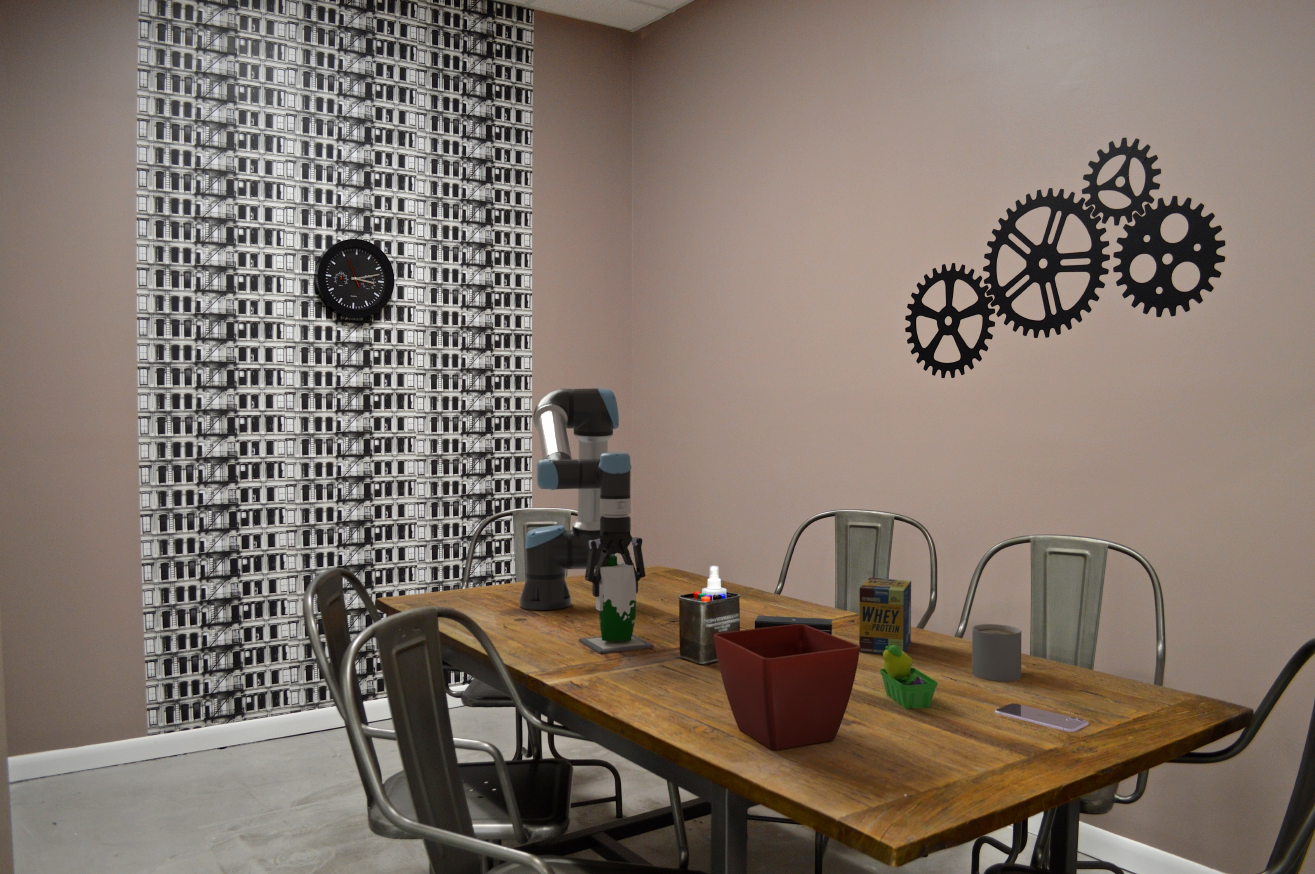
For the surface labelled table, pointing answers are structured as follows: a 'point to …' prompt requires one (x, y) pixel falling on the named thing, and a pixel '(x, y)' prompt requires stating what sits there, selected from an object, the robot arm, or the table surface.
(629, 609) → the soya milk
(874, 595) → the protein box
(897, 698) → the fruit basket
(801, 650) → the plant pot
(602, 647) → the mat
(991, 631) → the coffee mug
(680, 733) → the table surface
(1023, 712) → the mobile phone
